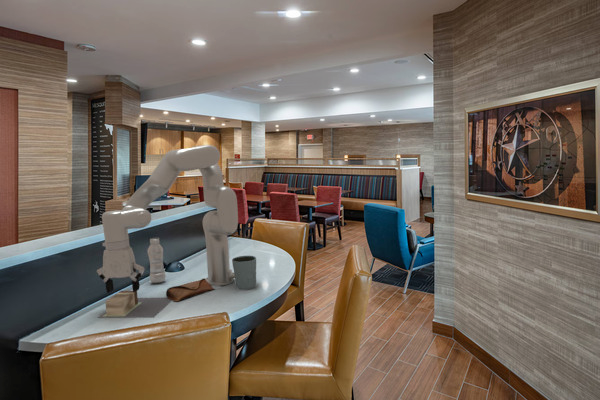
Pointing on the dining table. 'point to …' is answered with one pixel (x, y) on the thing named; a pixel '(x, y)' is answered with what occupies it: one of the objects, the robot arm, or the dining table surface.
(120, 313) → the card box
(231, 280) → the robot arm
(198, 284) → the sunglasses case
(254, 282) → the grey cup
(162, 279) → the plastic bottle
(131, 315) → the mat
